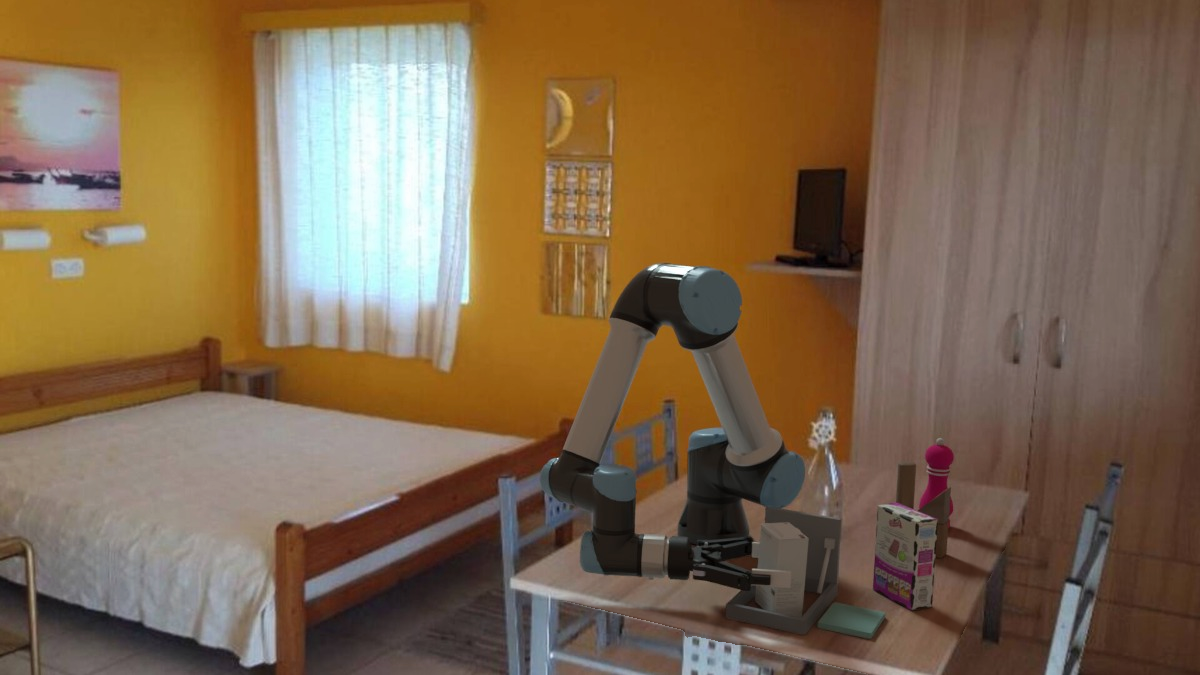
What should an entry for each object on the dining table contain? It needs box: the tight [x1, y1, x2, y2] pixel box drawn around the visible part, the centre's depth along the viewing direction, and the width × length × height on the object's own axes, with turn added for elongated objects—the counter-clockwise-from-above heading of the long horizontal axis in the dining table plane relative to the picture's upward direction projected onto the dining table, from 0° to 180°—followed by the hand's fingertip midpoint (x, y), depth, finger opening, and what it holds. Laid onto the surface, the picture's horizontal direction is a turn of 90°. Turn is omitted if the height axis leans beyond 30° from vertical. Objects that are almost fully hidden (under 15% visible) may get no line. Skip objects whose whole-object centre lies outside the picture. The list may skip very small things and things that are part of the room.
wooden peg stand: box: [895, 460, 952, 559], centre depth 216 cm, size 4×11×18 cm, turn 53°
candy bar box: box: [872, 502, 938, 611], centre depth 190 cm, size 11×5×16 cm, turn 24°
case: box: [725, 506, 842, 636], centre depth 186 cm, size 14×20×14 cm
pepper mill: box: [918, 437, 955, 530], centre depth 231 cm, size 7×7×20 cm
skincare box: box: [754, 522, 809, 617], centre depth 184 cm, size 8×6×15 cm
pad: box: [817, 601, 886, 640], centre depth 180 cm, size 9×10×1 cm
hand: (789, 565), depth 184 cm, fingers open, 13 cm apart
